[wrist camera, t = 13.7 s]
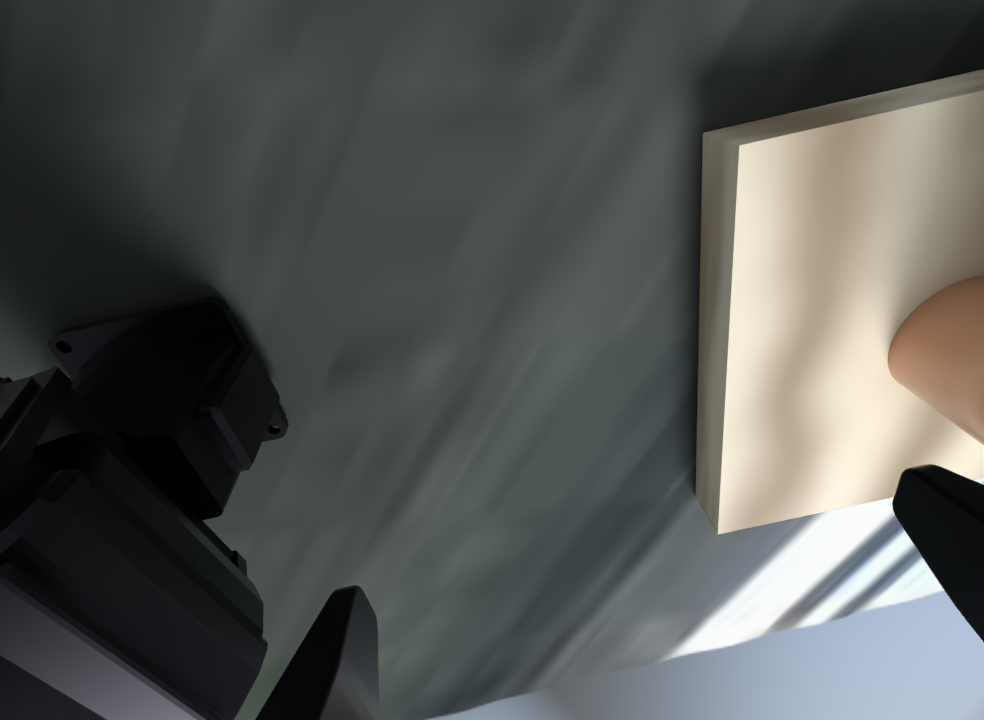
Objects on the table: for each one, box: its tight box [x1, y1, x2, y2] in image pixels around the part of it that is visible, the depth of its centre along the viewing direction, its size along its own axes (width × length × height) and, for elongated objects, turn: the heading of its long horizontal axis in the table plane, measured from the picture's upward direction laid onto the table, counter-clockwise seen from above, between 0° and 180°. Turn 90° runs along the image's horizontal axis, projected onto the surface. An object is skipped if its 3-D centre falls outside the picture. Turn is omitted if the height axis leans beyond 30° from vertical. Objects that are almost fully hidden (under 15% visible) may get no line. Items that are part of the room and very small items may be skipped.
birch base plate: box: [696, 69, 984, 534], centre depth 21 cm, size 18×18×2 cm
